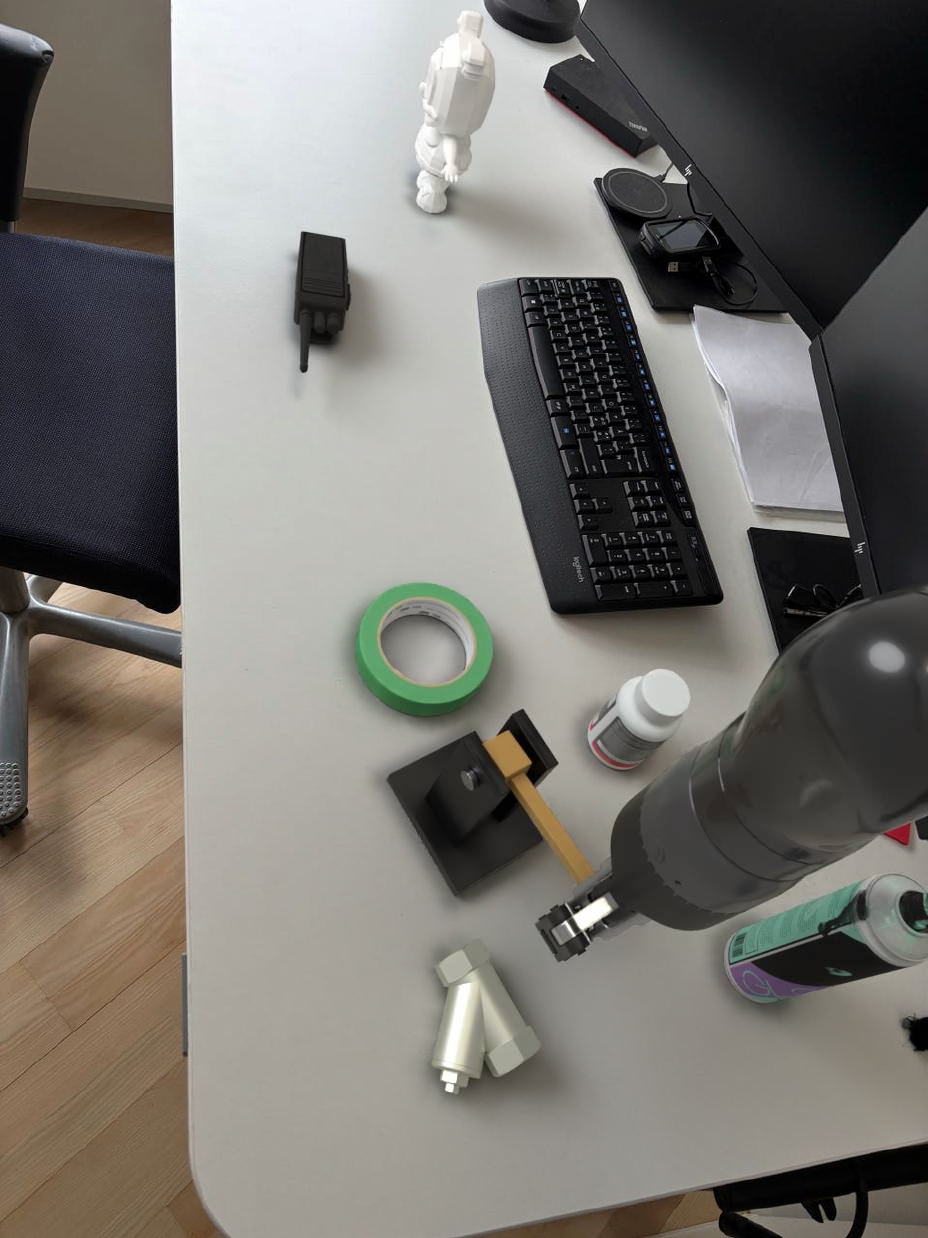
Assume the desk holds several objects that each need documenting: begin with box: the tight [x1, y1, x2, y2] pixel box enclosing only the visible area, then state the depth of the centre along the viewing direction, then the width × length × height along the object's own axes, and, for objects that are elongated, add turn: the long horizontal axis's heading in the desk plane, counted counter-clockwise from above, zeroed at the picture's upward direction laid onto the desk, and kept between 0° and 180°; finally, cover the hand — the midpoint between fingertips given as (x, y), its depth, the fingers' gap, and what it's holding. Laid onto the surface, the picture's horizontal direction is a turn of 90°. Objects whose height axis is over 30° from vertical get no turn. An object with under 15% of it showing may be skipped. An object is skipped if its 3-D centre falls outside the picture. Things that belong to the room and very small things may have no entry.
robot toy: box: [414, 9, 496, 214], centre depth 98 cm, size 8×20×19 cm, turn 2°
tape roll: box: [354, 582, 494, 717], centre depth 75 cm, size 11×11×3 cm
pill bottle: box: [587, 668, 692, 771], centre depth 73 cm, size 5×5×10 cm
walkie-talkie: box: [293, 230, 352, 374], centre depth 89 cm, size 6×6×20 cm
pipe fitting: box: [431, 938, 542, 1095], centre depth 61 cm, size 8×4×7 cm
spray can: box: [723, 871, 928, 1004], centre depth 62 cm, size 6×6×20 cm
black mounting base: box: [386, 708, 559, 896], centre depth 65 cm, size 10×8×13 cm
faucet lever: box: [482, 730, 602, 911], centre depth 59 cm, size 13×5×2 cm, turn 33°
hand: (591, 912), depth 58 cm, fingers closed on faucet lever, 5 cm apart
